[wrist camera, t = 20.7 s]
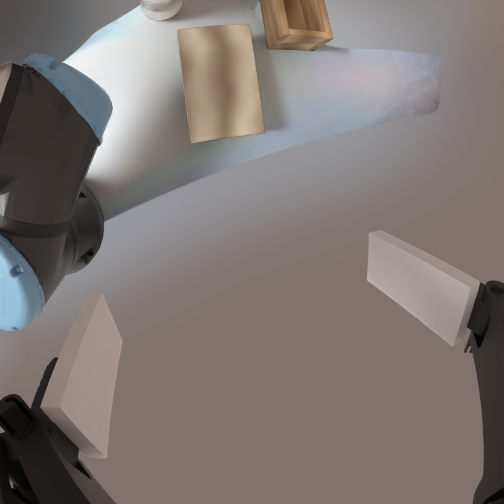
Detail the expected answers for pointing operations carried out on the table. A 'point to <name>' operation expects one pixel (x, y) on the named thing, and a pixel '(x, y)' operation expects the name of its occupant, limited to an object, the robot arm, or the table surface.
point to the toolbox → (295, 24)
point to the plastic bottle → (161, 8)
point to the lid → (220, 82)
